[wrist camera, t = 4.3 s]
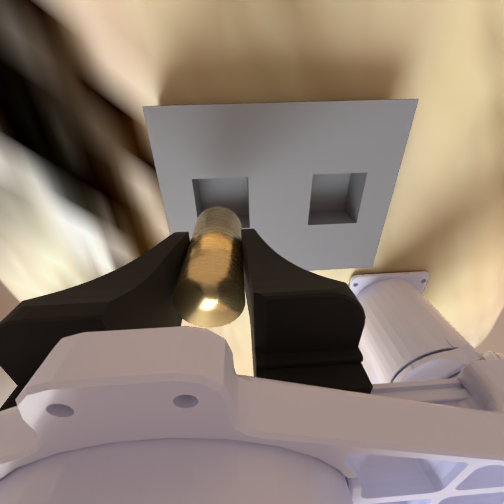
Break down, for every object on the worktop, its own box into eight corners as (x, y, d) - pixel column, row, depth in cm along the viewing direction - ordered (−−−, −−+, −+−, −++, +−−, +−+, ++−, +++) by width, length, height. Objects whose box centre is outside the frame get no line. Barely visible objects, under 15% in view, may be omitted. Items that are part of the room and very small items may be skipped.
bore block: (357, 249, 23) (372, 267, 21) (185, 257, 23) (179, 277, 20) (391, 99, 17) (418, 98, 15) (156, 105, 17) (142, 106, 14)
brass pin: (240, 247, 15) (243, 327, 9) (197, 246, 14) (176, 327, 9) (242, 207, 13) (246, 273, 8) (194, 205, 13) (168, 272, 8)
